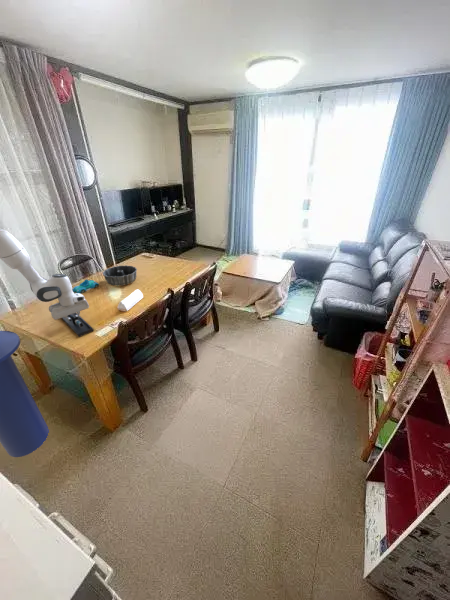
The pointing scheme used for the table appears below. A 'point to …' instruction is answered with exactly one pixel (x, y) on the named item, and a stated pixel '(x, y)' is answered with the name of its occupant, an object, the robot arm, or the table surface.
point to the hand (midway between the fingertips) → (73, 319)
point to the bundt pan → (120, 275)
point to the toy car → (85, 286)
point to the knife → (76, 321)
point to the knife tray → (78, 330)
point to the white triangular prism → (130, 300)
